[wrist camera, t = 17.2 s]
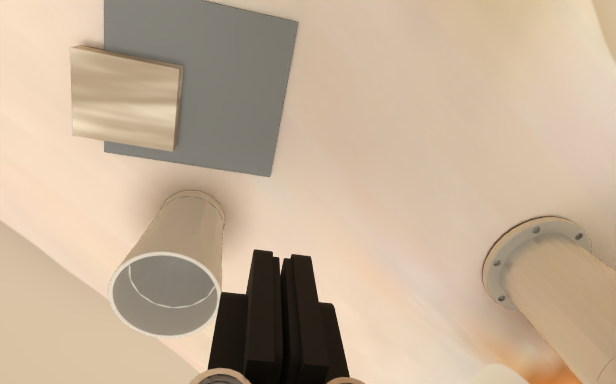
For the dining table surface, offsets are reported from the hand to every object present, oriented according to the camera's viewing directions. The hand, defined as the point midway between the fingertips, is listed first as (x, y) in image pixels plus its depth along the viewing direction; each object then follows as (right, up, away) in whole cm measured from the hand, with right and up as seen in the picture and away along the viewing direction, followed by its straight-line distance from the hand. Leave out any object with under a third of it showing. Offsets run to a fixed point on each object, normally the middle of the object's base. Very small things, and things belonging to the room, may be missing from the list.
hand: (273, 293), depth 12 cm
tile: (-13, +14, +20) cm, 27 cm away
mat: (-9, +12, +23) cm, 27 cm away
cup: (-11, 0, +28) cm, 30 cm away
